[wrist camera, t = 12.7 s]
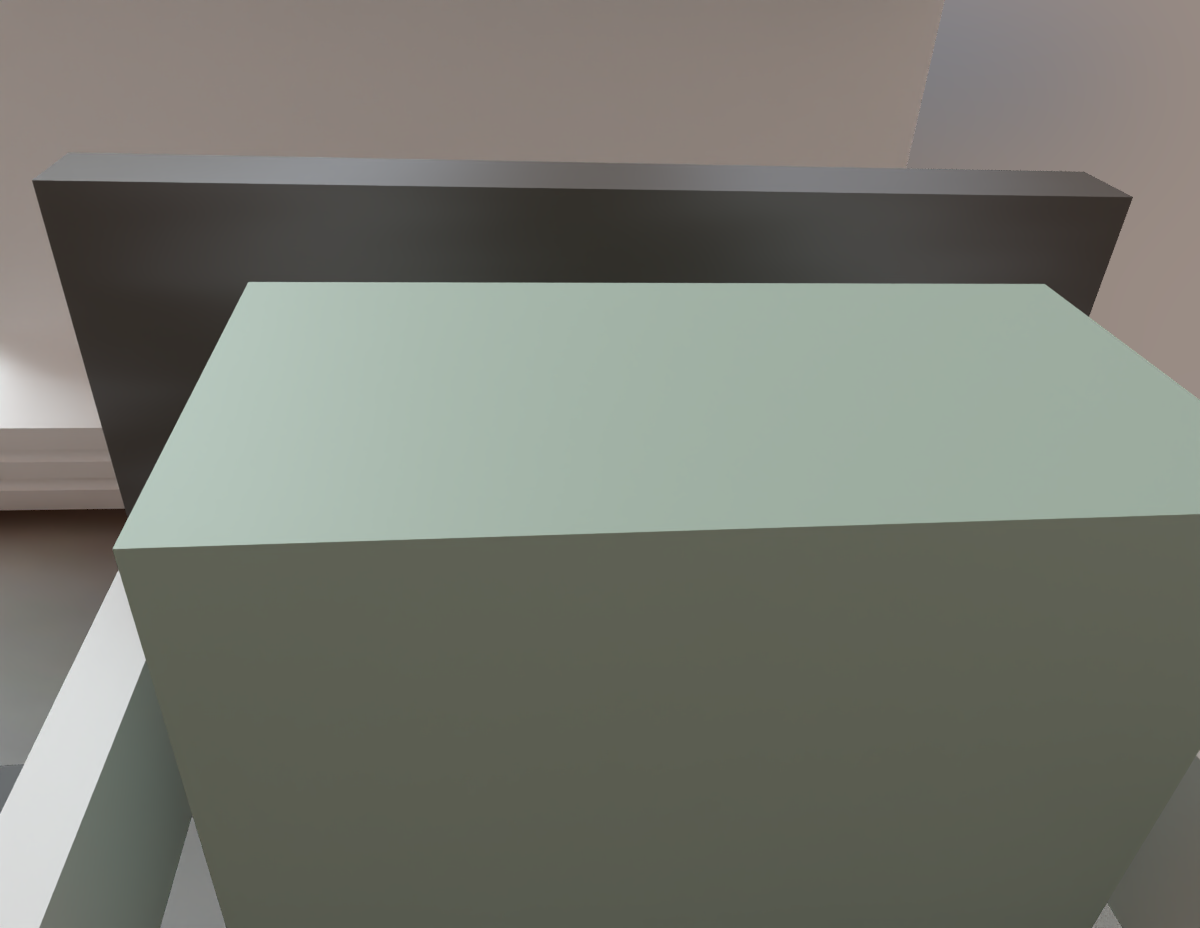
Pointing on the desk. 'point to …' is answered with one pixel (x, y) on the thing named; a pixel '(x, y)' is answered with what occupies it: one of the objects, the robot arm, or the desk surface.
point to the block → (404, 124)
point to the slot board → (509, 242)
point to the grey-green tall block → (672, 605)
